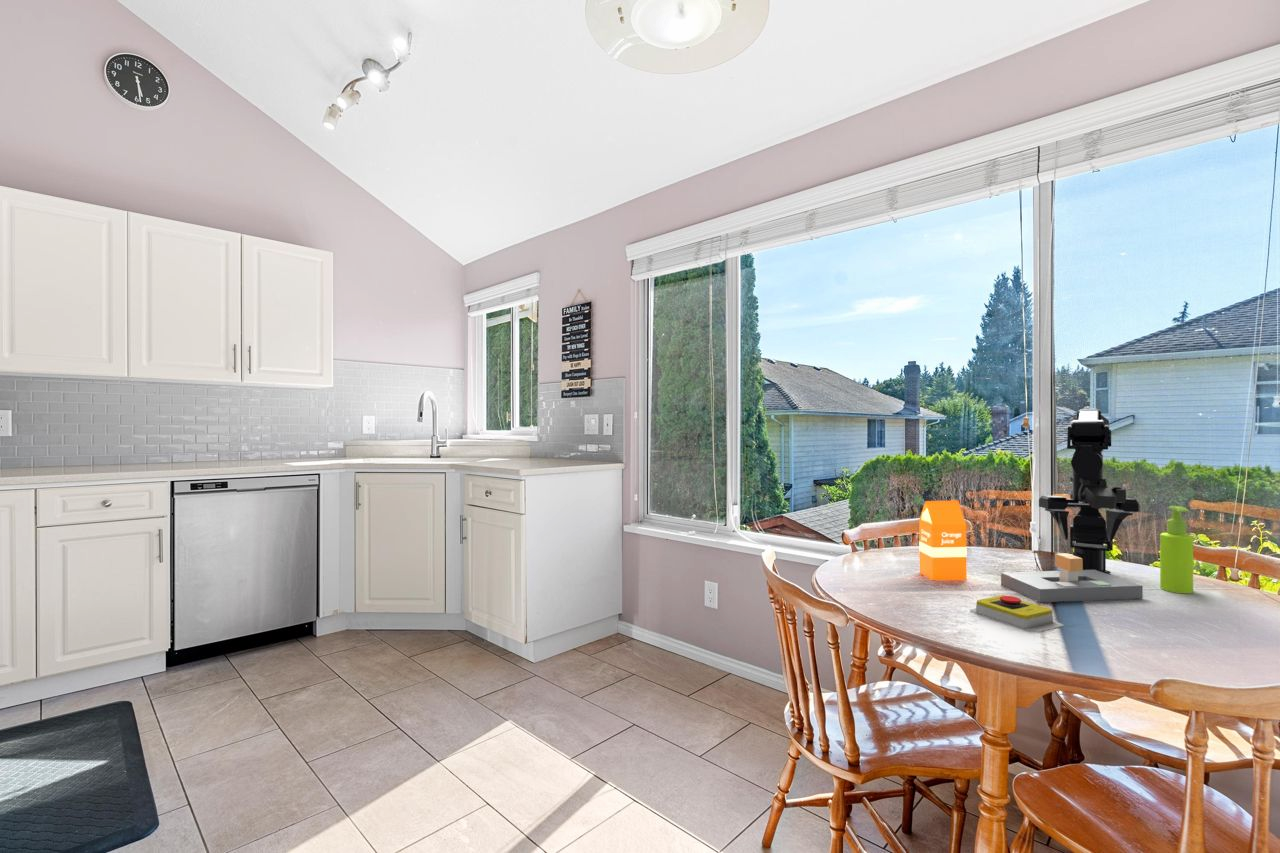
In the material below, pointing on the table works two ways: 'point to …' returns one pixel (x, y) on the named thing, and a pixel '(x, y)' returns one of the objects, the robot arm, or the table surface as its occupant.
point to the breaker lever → (1068, 566)
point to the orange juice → (942, 541)
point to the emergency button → (1017, 613)
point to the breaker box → (1071, 586)
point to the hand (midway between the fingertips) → (1087, 540)
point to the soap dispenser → (1176, 555)
